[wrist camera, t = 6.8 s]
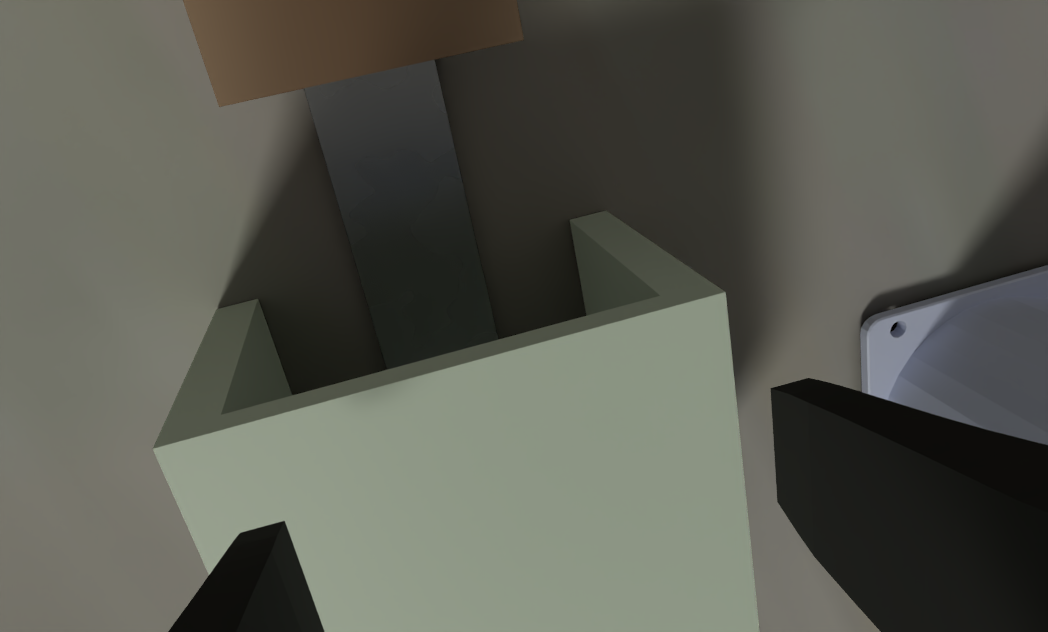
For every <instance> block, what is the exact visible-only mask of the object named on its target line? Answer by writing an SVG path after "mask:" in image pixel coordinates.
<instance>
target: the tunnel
mask: <svg viewBox="0 0 1048 632" xmlns="http://www.w3.org/2000/svg"><path fill="white" fill-rule="evenodd" d="M570 226H571V231H572V237H573V243H574V248H575V254H576V260H577V265H578V271H579V277H580V282H581V288H582V294H583V299H584V305H585V311H586V316H584V317H580V318H576V319H573V320H569V321H565V322H561V323H558V324H554V325H550V326H547V327H543V328H539V329H536V330H532V331H528V332H525V333H521V334H517V335H514V336H510V337H506V338H502V339H499V340H495V341H491V342H488V343H484V344H480V345H477V346H473V347H469V348H466V349H462V350H458V351H455V352H451V353H447V354H443V355H440V356H436V357H432V358H429V359H425V360H421V361H418V362H414V363H410V364H407V365H403V366H399V367H396V368H392V369H388V370H384V371H381V372H377V373H373V374H370V375H366V376H362V377H359V378H355V379H351V380H348V381H344V382H340V383H337V384H333V385H329V386H326V387H322V388H318V389H314V390H311V391H307V392H303V393H300V394H296V395H292V393H291V390H290V388H289V385H288V382H287V379H286V376H285V373H284V371H283V368H282V365H281V362H280V359H279V356H278V354H277V351H276V348H275V345H274V342H273V340H272V337H271V334H270V331H269V328H268V325H267V323H266V320H265V317H264V314H263V311H262V308H261V306H260V303H259V300H258V299H255V300H251V301H247V302H243V303H239V304H235V305H231V306H227V307H223V308H219V309H217V310H216V312H215V314H214V316H213V318H212V320H211V323H210V325H209V327H208V329H207V331H206V334H205V336H204V338H203V340H202V342H201V344H200V347H199V349H198V351H197V353H196V355H195V358H194V360H193V362H192V364H191V366H190V369H189V371H188V373H187V375H186V377H185V379H184V382H183V384H182V386H181V388H180V390H179V393H178V395H177V397H176V399H175V401H174V403H173V406H172V408H171V410H170V412H169V414H168V417H167V419H166V421H165V423H164V425H163V427H162V430H161V432H160V434H159V436H158V438H157V441H156V443H155V445H154V447H153V451H154V453H155V455H156V458H157V460H158V462H159V464H160V466H161V469H162V471H163V473H164V475H165V478H166V480H167V482H168V484H169V487H170V489H171V491H172V493H173V496H174V498H175V500H176V502H177V504H178V507H179V509H180V511H181V513H182V516H183V518H184V520H185V522H186V525H187V527H188V529H189V531H190V534H191V536H192V538H193V540H194V542H195V545H196V547H197V549H198V551H199V554H200V556H201V558H202V560H203V563H204V565H205V567H206V569H207V572H208V574H209V575H210V573H211V572H212V570H213V569H214V568H215V566H216V565H217V563H218V562H219V560H220V559H221V558H222V556H223V555H224V553H225V552H226V551H227V549H228V548H229V546H230V545H231V544H232V542H233V541H234V540H235V538H236V537H237V536H238V535H239V533H241V532H245V531H248V530H252V529H256V528H259V527H263V526H267V525H271V524H274V523H278V522H282V521H285V523H286V526H287V528H288V531H289V534H290V537H291V540H292V542H293V545H294V548H295V551H296V553H297V556H298V559H299V562H300V565H301V567H302V570H303V573H304V576H305V579H306V581H307V584H308V587H309V590H310V592H311V595H312V598H313V601H314V604H315V606H316V609H317V612H318V615H319V618H320V620H321V623H322V626H323V629H324V631H325V632H759V622H758V612H757V602H756V592H755V582H754V572H753V562H752V552H751V542H750V532H749V522H748V512H747V502H746V492H745V482H744V471H743V461H742V451H741V441H740V431H739V421H738V411H737V401H736V391H735V381H734V371H733V361H732V351H731V341H730V331H729V321H728V311H727V301H726V292H725V291H723V290H722V289H720V288H719V287H718V286H716V285H715V284H713V283H712V282H710V281H709V280H707V279H706V278H704V277H703V276H701V275H700V274H698V273H697V272H696V271H694V270H693V269H691V268H690V267H688V266H687V265H685V264H684V263H682V262H681V261H679V260H678V259H676V258H675V257H674V256H672V255H671V254H669V253H668V252H666V251H665V250H663V249H662V248H660V247H659V246H657V245H656V244H654V243H653V242H652V241H650V240H649V239H647V238H646V237H644V236H643V235H641V234H640V233H638V232H637V231H635V230H634V229H632V228H631V227H630V226H628V225H627V224H625V223H624V222H622V221H621V220H619V219H618V218H616V217H615V216H613V215H612V214H610V213H609V212H607V211H602V212H598V213H594V214H590V215H586V216H583V217H579V218H575V219H571V220H570Z"/></svg>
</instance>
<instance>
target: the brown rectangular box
mask: <svg viewBox="0 0 1048 632" xmlns="http://www.w3.org/2000/svg"><path fill="white" fill-rule="evenodd" d="M183 2H184V5H185V8H186V11H187V13H188V16H189V19H190V22H191V25H192V28H193V31H194V34H195V37H196V40H197V43H198V46H199V49H200V52H201V55H202V58H203V61H204V64H205V67H206V69H207V72H208V75H209V78H210V81H211V84H212V87H213V90H214V93H215V96H216V99H217V102H218V105H219V107H221V106H226V105H230V104H235V103H239V102H244V101H249V100H253V99H258V98H262V97H267V96H271V95H276V94H280V93H285V92H290V91H294V90H299V89H303V88H308V87H312V86H317V85H321V84H326V83H331V82H335V81H340V80H344V79H349V78H353V77H358V76H362V75H367V74H372V73H376V72H381V71H385V70H390V69H394V68H399V67H403V66H408V65H413V64H417V63H422V62H426V61H431V60H435V59H440V58H444V57H449V56H454V55H458V54H463V53H467V52H472V51H476V50H481V49H485V48H490V47H495V46H499V45H504V44H508V43H513V42H517V41H522V40H524V37H523V32H522V27H521V21H520V16H519V10H518V5H517V0H183Z"/></svg>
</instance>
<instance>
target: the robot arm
mask: <svg viewBox="0 0 1048 632" xmlns="http://www.w3.org/2000/svg"><path fill="white" fill-rule="evenodd" d="M896 322H898V323H897V327H896V328H895V329H894V331H892V332H890V331H891V327H892V326H893V324H894V323H896ZM860 339H861V376H862V392H860V391H856V390H853V389H849V388H846V387H843V386H839V385H835V384H832V383H828V382H824V381H820V380H815V379H810V378H807V379H803V380H800V381H796V382H792V383H789V384H785V385H781V386H778V387H774V388H771V402H772V418H773V434H774V451H775V467H776V484H777V500H778V503H779V505H780V506H781V508H782V509H783V511H784V512H785V514H786V516H787V517H788V519H789V520H790V522H791V523H792V525H793V526H794V528H795V529H796V531H797V532H798V534H799V535H800V537H801V538H802V540H803V541H804V542H805V544H806V545H807V547H808V548H809V550H810V551H811V552H812V554H813V555H814V557H815V558H816V559H817V560H818V561H819V562H820V564H821V565H822V566H823V567H824V568H825V569H826V571H827V572H828V573H829V574H830V575H831V576H832V577H833V579H834V580H835V581H836V582H837V583H838V584H839V585H840V587H841V588H842V589H843V590H844V591H845V592H846V593H847V594H848V596H849V597H850V598H851V599H852V600H853V601H854V602H855V603H856V605H857V606H858V607H859V608H860V609H861V610H862V611H863V612H864V613H865V615H866V616H867V617H868V618H869V619H870V620H871V621H872V622H873V623H874V625H875V626H876V627H877V628H878V629H879V630H880V631H881V632H1048V265H1046V266H1042V267H1039V268H1035V269H1032V270H1028V271H1025V272H1021V273H1018V274H1014V275H1011V276H1007V277H1004V278H1000V279H997V280H993V281H990V282H986V283H983V284H979V285H976V286H972V287H969V288H965V289H962V290H958V291H955V292H951V293H948V294H944V295H941V296H937V297H934V298H930V299H927V300H923V301H920V302H916V303H913V304H909V305H906V306H902V307H899V308H895V309H892V310H888V311H885V312H881V313H878V314H875V315H873V316H871V317H869V318H868V319H867V320H866V321H865V322H864V324H863V326H862V327H861V333H860ZM169 632H325V631H324V629H323V626H322V623H321V620H320V618H319V615H318V612H317V609H316V606H315V604H314V601H313V598H312V595H311V592H310V590H309V587H308V584H307V581H306V579H305V576H304V573H303V570H302V567H301V565H300V562H299V559H298V556H297V553H296V551H295V548H294V545H293V542H292V540H291V537H290V534H289V531H288V528H287V526H286V523H285V521H282V522H278V523H274V524H271V525H267V526H263V527H259V528H256V529H252V530H248V531H245V532H241V533H239V535H238V536H237V537H236V538H235V540H234V541H233V542H232V544H231V545H230V546H229V548H228V549H227V551H226V552H225V553H224V555H223V556H222V558H221V559H220V560H219V562H218V563H217V565H216V566H215V568H214V569H213V570H212V572H211V573H210V575H209V576H208V578H207V579H206V580H205V582H204V583H203V585H202V586H201V588H200V589H199V590H198V592H197V593H196V595H195V596H194V597H193V599H192V600H191V601H190V603H189V604H188V606H187V607H186V608H185V610H184V611H183V612H182V614H181V615H180V616H179V618H178V619H177V621H176V622H175V623H174V625H173V626H172V627H171V629H170V630H169Z"/></svg>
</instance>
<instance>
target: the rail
mask: <svg viewBox="0 0 1048 632" xmlns="http://www.w3.org/2000/svg"><path fill="white" fill-rule="evenodd" d="M304 90H305V94H306V97H307V100H308V104H309V107H310V111H311V114H312V117H313V121H314V124H315V128H316V131H317V134H318V138H319V141H320V144H321V148H322V151H323V155H324V158H325V161H326V165H327V168H328V172H329V175H330V178H331V182H332V185H333V189H334V192H335V195H336V199H337V202H338V205H339V209H340V212H341V216H342V219H343V222H344V226H345V229H346V233H347V236H348V239H349V243H350V246H351V250H352V253H353V256H354V260H355V263H356V266H357V270H358V273H359V277H360V280H361V283H362V287H363V290H364V294H365V297H366V300H367V304H368V307H369V311H370V314H371V317H372V321H373V324H374V327H375V331H376V334H377V338H378V341H379V344H380V348H381V351H382V355H383V358H384V361H385V365H386V368H387V370H388V369H392V368H396V367H399V366H403V365H407V364H410V363H414V362H418V361H421V360H425V359H429V358H432V357H436V356H440V355H443V354H447V353H451V352H455V351H458V350H462V349H466V348H469V347H473V346H477V345H480V344H484V343H488V342H491V341H495V340H498V336H497V331H496V327H495V322H494V318H493V314H492V309H491V305H490V300H489V296H488V292H487V287H486V283H485V279H484V274H483V270H482V265H481V261H480V257H479V252H478V248H477V244H476V239H475V235H474V230H473V226H472V222H471V217H470V213H469V209H468V204H467V200H466V195H465V191H464V187H463V182H462V178H461V173H460V169H459V165H458V160H457V156H456V152H455V147H454V143H453V138H452V134H451V130H450V125H449V121H448V117H447V112H446V108H445V103H444V99H443V95H442V90H441V86H440V81H439V77H438V73H437V68H436V64H435V60H431V61H426V62H422V63H417V64H413V65H408V66H403V67H399V68H394V69H390V70H385V71H381V72H376V73H372V74H367V75H362V76H358V77H353V78H349V79H344V80H340V81H335V82H331V83H326V84H321V85H317V86H312V87H308V88H304Z"/></svg>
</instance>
